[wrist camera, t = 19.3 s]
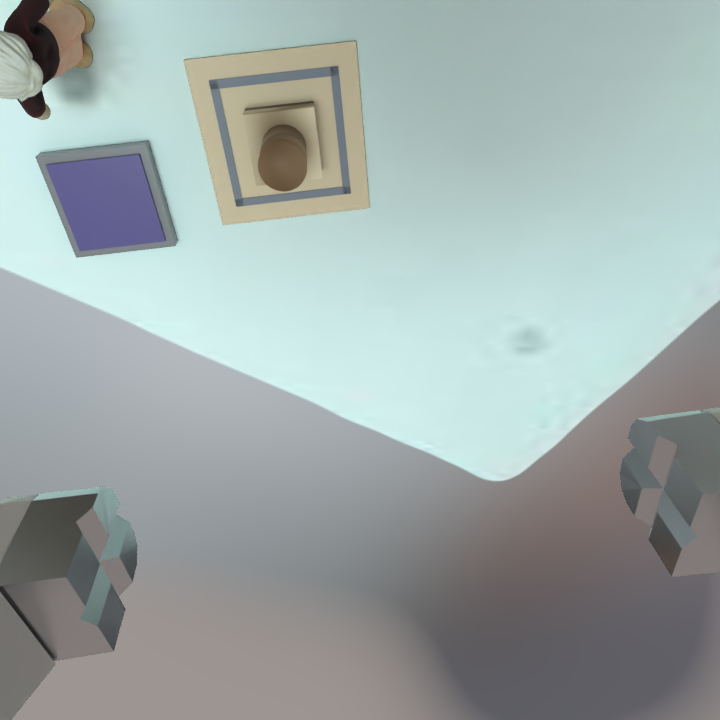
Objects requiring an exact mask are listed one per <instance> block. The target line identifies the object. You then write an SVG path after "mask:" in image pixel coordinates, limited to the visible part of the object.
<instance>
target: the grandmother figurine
mask: <svg viewBox="0 0 720 720" xmlns="http://www.w3.org/2000/svg"><path fill="white" fill-rule="evenodd" d="M48 8H49V9H50V11H49V12H47V10H48ZM93 25H94V17H93V14H92V12H91V11H90V10H89V9H88V8H87V7H86V6H84V5H83V4H82V3H81V2H80V1H78V0H22V1H21V3H20V4H19V6H18V7H17V9H16V10H14V11H13V13H12V14H11V15H10V17H9V18H8V20H7V21H6V23H5V26H4V31H0V98H5V99H17V100H18V101H19V103H20V104H21V105H22V107H23V108H24V110H25V111H26V112H27V113H28V114H29V115H30V116H32V117H34V118H38V119H40V120H45V119H48V118H49V116H50V108H49V107H48V105H47V104H45V101H44V97H43V93H42V86H43V85H44V84H45V83H47V82H48V81H49V80H50V79H52V78H54V77H57V76H60V75H62V74H64V73H65V72H66V71H68V70H69V69H71V68H73V67H78V68H87V67H89V66H90V65H91V64H92V60H93V56H92V51H91V49H90V47H89V46H88V45H87V44H86V43H84V42H82V38H81V34H82V33H88V32H90V31H91V30H92V28H93Z"/></svg>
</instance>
